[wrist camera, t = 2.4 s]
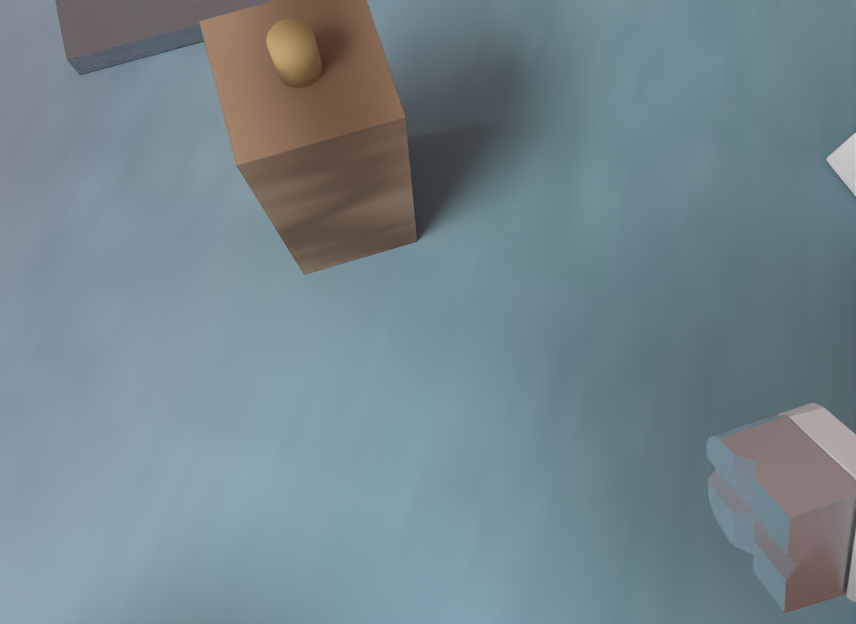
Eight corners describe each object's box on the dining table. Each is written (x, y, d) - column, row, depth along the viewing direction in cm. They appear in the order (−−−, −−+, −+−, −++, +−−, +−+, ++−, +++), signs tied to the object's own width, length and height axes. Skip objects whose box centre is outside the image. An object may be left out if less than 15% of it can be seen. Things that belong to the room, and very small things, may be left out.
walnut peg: (304, 274, 26) (222, 141, 16) (276, 171, 27) (182, -11, 18) (417, 241, 27) (403, 91, 17) (384, 140, 28) (353, -56, 18)
